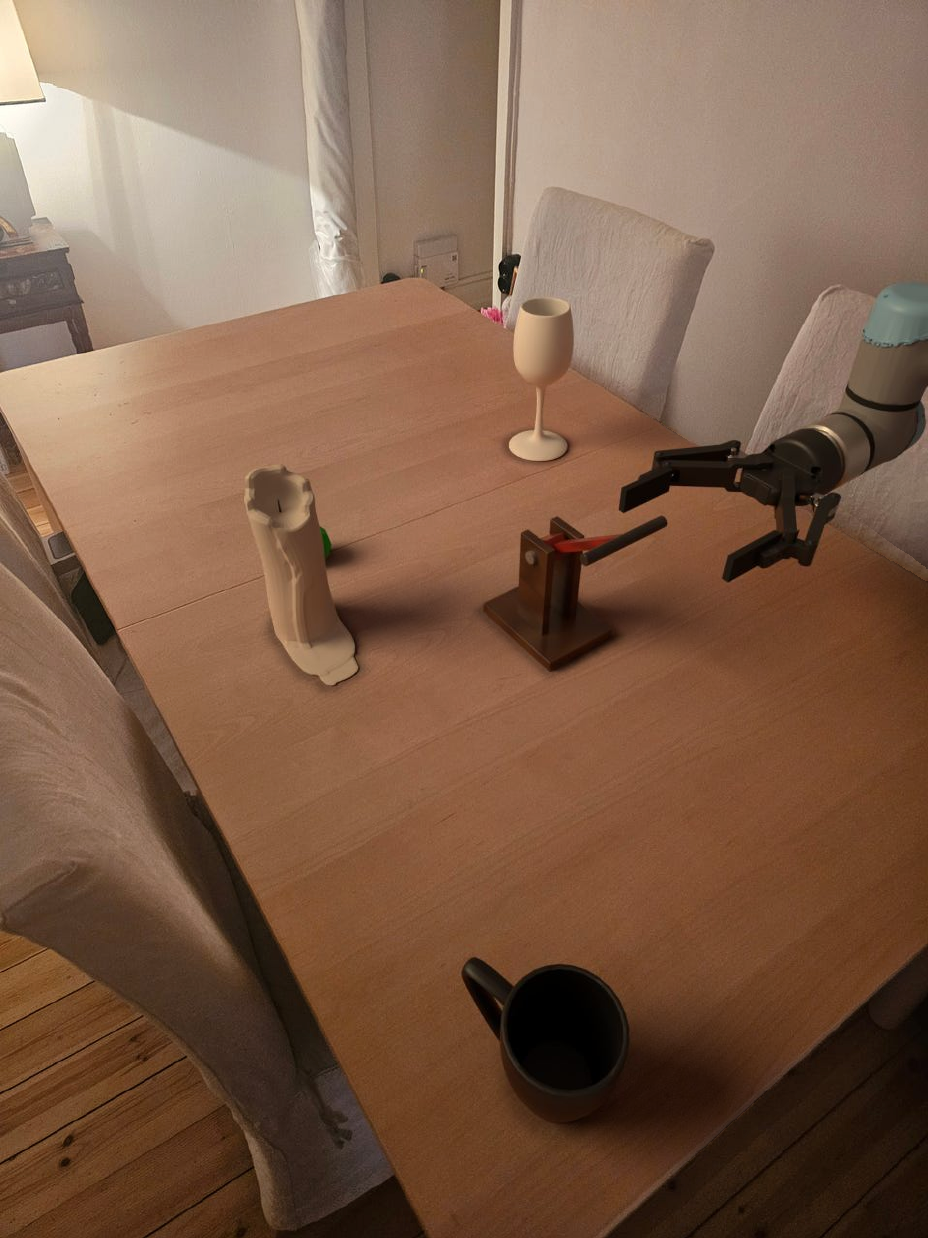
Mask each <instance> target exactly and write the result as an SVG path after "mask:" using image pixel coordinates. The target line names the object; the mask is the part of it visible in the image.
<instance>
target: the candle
mask: <svg viewBox="0 0 928 1238" xmlns="http://www.w3.org/2000/svg"><path fill="white" fill-rule="evenodd" d="M243 503H244V506H245V510H246V514H247V517H248V520H249V521H248V522H249V525H250V528H251V531H252V534H253V537H254V540H255V543H256V546H257V549H258V553H259V556H260V561H261V565H262V569H263V574H264V581H265V589H266V596H267V602H268V603H267V604H268V608H269V612H270V617H271V621H272V625H273V629H274V634H275V636H276V638H277V639H278V640H279V641H280V642H281V644H282V646H283V648H284V649H285V650H286V652H287V654H288V655H289V657H290V659H291V660H292V661H293V662H294V663H295V665H297V666H298V668H299V669H301V671H303V673H306V674H308V675H311V676H318V677H319V679H320V680H321V682H322V683H324V684H325V685H327V686H336V684H337V683H339V682H342V681H344V680H346V679H348V678H350V677H352V676H353V675H354V674H355V673H357V672H358V670H359V666H358V663H357V661H356V659H355V653H356V644H355V642H354V638H353V636H352V634H351V633H350V631H349V630H348V629H347V627H346V626H345V625H344V623H343V622H342V620H341V619H340V617H339V616H338V612H337V610H336V606H335V604H334V599H333V595H332V593H331V590H330V584H329V579H328V573H327V565H326V558H325V556H324V547H323V539H322V534H321V530H320V526H321V525H320V522H319V518H318V514H317V506H316V497H315V494H314V491H313V489H312V485H311V482H310V479H309V478H308V477H307V476H305V475H304V474H300V473H297V472H293V471H289V469H287V467H286V466H285V465H284V464H281V463H280V464H273V465H267V466H263V467H259V468H255V469H252V470H250V471H249V472H248V473H247V474H246V475H245V480H244V497H243Z"/></svg>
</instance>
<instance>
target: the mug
mask: <svg viewBox="0 0 928 1238" xmlns="http://www.w3.org/2000/svg"><path fill="white" fill-rule="evenodd" d="M461 978H462V981H463V983H464V986H465V988H466V989H467V992H468V994H469V995H470V997H471V999H472V1000H473V1002H474V1004H475V1006H476V1008H477V1009H478V1011H479V1012H480V1015H481V1016H482V1017H483V1019H484V1020H485V1022H486V1024H487V1025H488V1027H489V1028H490V1030H491V1031H492V1033H493V1034H494V1036H495V1038H496V1039H497V1040H498V1041H499V1049H500V1056H501V1057H500V1058H501V1063H502V1067H503V1070H504V1072H505V1075H506V1078H507V1081H508V1083H509V1085H510V1086H511V1089H512V1090H513V1092H514V1093H515V1095H516V1097H517V1098H518V1099H519V1101H521V1103H522V1104H523V1105H524V1106H525V1107H526V1108H527V1109H528V1110H529V1111H531V1112H532V1113H533V1114H534V1115H535V1116H537V1117H538V1118H540V1119H541V1120H544V1121H546V1122H549V1123H554V1124H555V1123H556V1124H562V1123H569V1122H574V1121H577V1120H579V1119H582V1118H584V1117H587V1116H589V1115H590V1114H591V1113H593V1112H594V1111H595V1110H597V1109H598V1108H600V1107H601V1106H602V1105H603V1104H604V1103H605V1102H606V1100H607V1099H608V1098H609V1097H610V1095H611V1094H612V1093H613V1091H614V1090H615V1089H616V1087H617V1085H618V1082H619V1080H620V1079H621V1076H622V1073H623V1071H624V1067H625V1065H626V1061H627V1058H628V1055H629V1054H628V1053H629V1047H630V1043H631V1040H630V1037H631V1036H630V1025H629V1021H628V1017H627V1013H626V1011H625V1008H624V1005H623V1004H622V1002H621V1000H620V998H619V997H618V996H617V994H616V993H615V992H614V990H613V989H612V987H611V986H610V985H609V984H608V983H607V982H605V981H604V980H603V979H602V978H601V977H600V976H598V975H597V974H594V973H593V972H592V971H589V970H588V969H586V968H582V967H580V966H576V965H573V964H565V963H555V964H547V965H544V966H541V967H537V968H534V969H533V970H531V971H530V972H528V973H527V974H525V975H523V976H522V977H521V978H520V979H519V980H518V981H517V982H516V983H515V984H512V983H510V981H508V979H506V978H505V977H504V976H503V975H502V974H501V973H500V972H498V971H497V970H496V969H495V968H494V967H492V966H491V965H490V964H488V963H487V962H486V961H484V960H483V959H481V958H479V957H477V956H473V957H470V958H469V959H467V961H466V962H465V963H464V964H463V966H462V969H461ZM497 1001H498V1002H497ZM498 1003H500V1005H502V1008H501V1006H500V1005H499V1004H498Z"/></svg>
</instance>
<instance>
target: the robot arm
mask: <svg viewBox="0 0 928 1238" xmlns="http://www.w3.org/2000/svg"><path fill="white" fill-rule="evenodd" d="M852 364H853V365H852V367H851V372H850V374H849V378H848V380H847V384H846V386H845V389H844V392H843V395H842V396H841V401H840V403H839V406H838V409H836V410H835V411H833V412H831V413H829V414H827V415H825V416H824V417H821V418H819V419H817V420H815V421H812V422H810V423H808V424H805V425H804V426H802V427H799V428H798V429H796V430H794V431H792V432H789V433H788V434H785V435H783V436H781V437H779V438H777V439H775V440H774V441H772V442H771V443H770V444H769V445H768V446H767V447H766V448H765V449H764V450H763V451H762V452H759V453H751V454H747V453H746V452H744V451H743V450H741V447H742V442H741V441H740V440H737V439H732V440H728V441H726V442H723V443H720V444H710V445H701V446H700V445H699V446H691V447H681V448H680V447H679V448H671V449H661V450H660V449H659V450H656V451H654V452H653V458H652V464H651V469H650V470H648V471H646V472H644V473H641V474H640V475H639V476H638V477H637V480H635V481H633V482H630V483H628V484H626V485H624V486H621V489H620V496H619V502H618V503H619V504H618V511H619V512H621V513H622V514H626V513H627V512H629V511H632V510H634V509H636V508H638V507H640V506H642V505H644V504H647V503H648V502H650V501H653V500H655V499H656V498H659V497H661V496H663V495H665V494H667V493H668V492H670V488H671V487H686V488H687V487H688V488H690V487H692V488H720V489H721V488H722V489H724V490H725V491H726V492H729V493H741V494H743V495H745V496H747V497H750V498H753V499H754V500H756V501H757V502H758V503H759V504H761V505H763V506H764V507H766V506H770V507H773V516H774V520H775V528H776V529H773V530H772V531H770V532H768V533H766V534H764V535H762V536H760V537H759V538H757V539H755V540H753V541H752V542H750V543H747V544H746V545H744V546H742V547H741V548H739V549H736V550H735V551H733V552H732V553H730V554H728V555H727V556H726V559H725V560H726V561H725V563H724V569H723V572H722V576H721V580H723V581H724V582H726V583H730V582H732V581H734V580H736V579H737V578H739V577H741V576H743V575H744V574H746V573H748V572H750V571H752V570H754V569H755V568H757V567H759V568H761V569H762V570H764V569H768V568H770V567H772V566H774V565H775V564H777V563H780V562H781V561H782V560H790V559H795V560H797V564H798V565H800V566H802V567H805V568H806V567H807V568H808V567H810V566H811V565H812V563H813V560H814V557H815V556H816V555H815V554H816V552H817V549H818V546H819V543H820V540H821V537H822V535H823V531H824V528H825V526H826V525H827V524H828V523H830V522H831V521H832V520H833V519H834V518H835V516H836V513H837V510H838V508H839V505H840V503H841V499H842V495H841V494H840V493H838V492H835V491H834V490H837V489H838V488H841V486H844V485H846V484H847V483H849V482H851V481H853V480H855V479H856V478H858V477H860V476H862V475H864V473H866V472H869V471H870V470H872V469H874V468H876V467H878V466H881V465H883V464H885V463H888V462H891V461H893V460H895V459H897V458H898V457H900V456H901V455H902V454H903V453H904V452H907V450H908V449H910V448H911V447H913V446H914V445H915V444H917V442H919V440H920V439H921V438H922V436H923V434H924V432H925V430H926V426H927V425H926V424H927V419H926V418H927V417H926V408H925V406H924V404H923V401H922V398H923V396H924V394H925V392H926V390H927V388H928V284H926V283H924V282H919V281H905V282H897V283H895V284H891V285H889V286H887V287H885V288H883V290H881V291H880V293H879V294H878V295H877V297H876V299H875V302H874V303H873V305H872V308H871V310H870V313H869V315H868V317H867V320H866V323H865V325H864V326H863V329H862V331H861V338H860V340H859V345H858V348H857V351H856V355H855V358H854V361H853V363H852ZM740 469H741V470H740ZM738 470H740V476H739V481H736V477H737V474H738ZM832 491H834V492H832ZM808 505H810V506H811V508H810V511H811V512H812V515H811V517H812V519H811V521H810V525H809V527H808V530H807V533H806V535H805V539H801V538H798V536H799V534H800V530H801V529H800V528H798V524H797V511H796V507H805V506H808Z"/></svg>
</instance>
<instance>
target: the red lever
mask: <svg viewBox="0 0 928 1238" xmlns="http://www.w3.org/2000/svg"><path fill="white" fill-rule="evenodd" d="M667 526H668V519H667V518H666V517H665V516H664V515H659V516H657V517H655V518H653V519H650V520H648V521H646V522H645V523H642V524H640V525H638V526H636V527H634V528H632V529H630V530H628V531H626V532H624V533H619V534H618V533H617V534H609V535H600V536H592V537H584V538H581V539H573V540H566V539H565V536H564V533H557V534H547V535H544V536H542V537H539V538H540V539H541V540H543V541H544V542H545V543H547V544H548V545H549V546H551V547H552V548H553V549H555V557H554V561H557V560H559V559H561V558H563V557H565V556H567V555H569V554H570V552H577V551H583V554H581V555H580V561H581V563H582V566H583V567H588V566H590V565H593V564H595V563H596V562H599V561H601V560H603V559H605V558H607V557H609V556H611V555H613V554H615V553H617V552H619V551H621V550H623V549H625V548H627V547H629V546H630V545H633V544H635V543H637V542H638V541H641V540H643V539H645V538H647V537H649V536H651V535H653V534H655V533H657V532H659V531H661V530H663V529H665V528H666V527H667Z"/></svg>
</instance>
